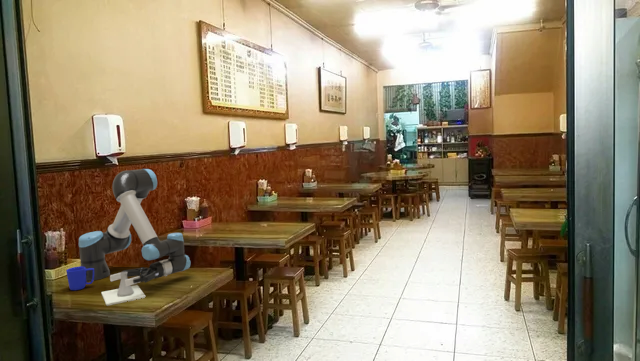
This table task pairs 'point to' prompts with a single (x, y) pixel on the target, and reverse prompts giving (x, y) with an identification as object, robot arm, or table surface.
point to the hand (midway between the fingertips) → (117, 280)
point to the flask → (122, 288)
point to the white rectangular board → (113, 298)
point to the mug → (78, 277)
